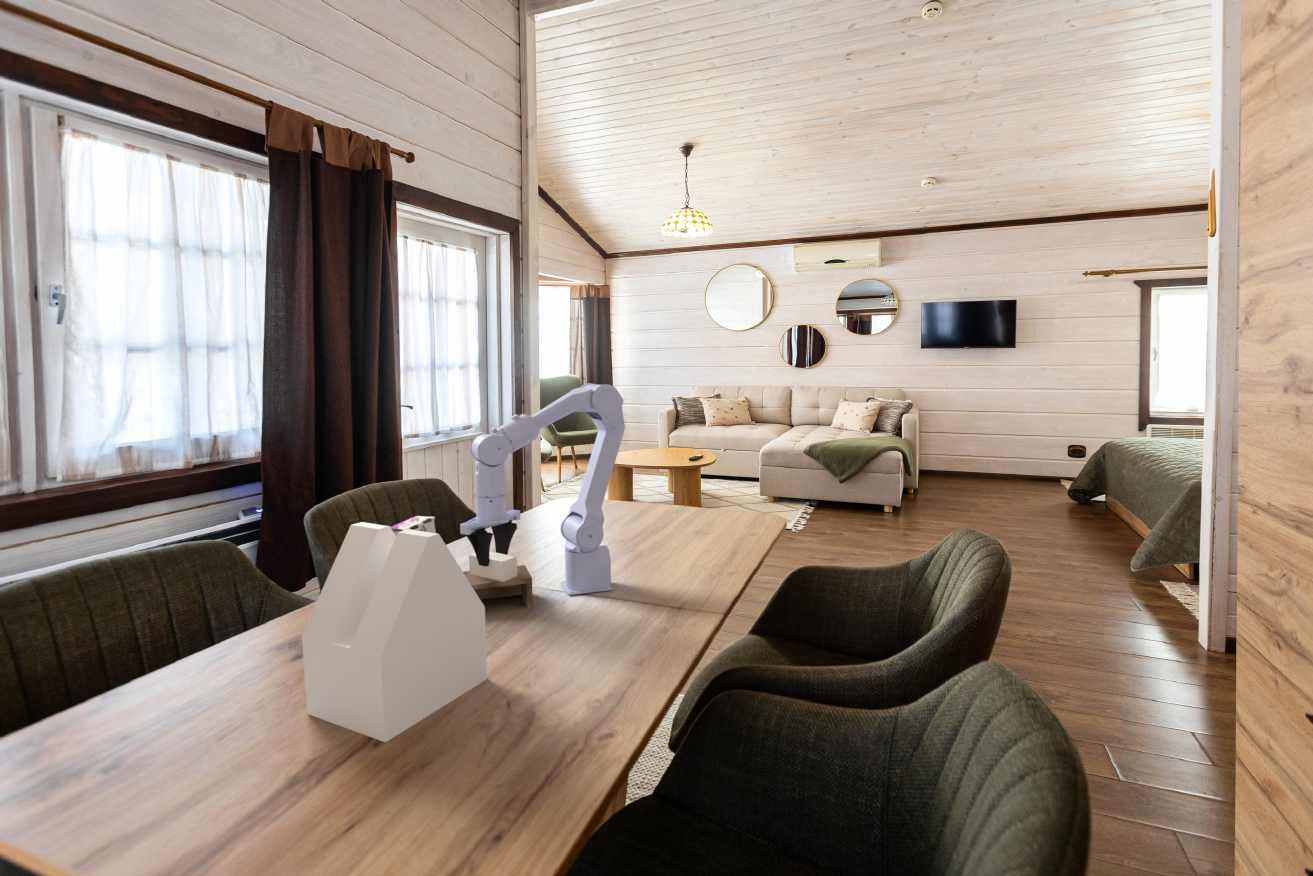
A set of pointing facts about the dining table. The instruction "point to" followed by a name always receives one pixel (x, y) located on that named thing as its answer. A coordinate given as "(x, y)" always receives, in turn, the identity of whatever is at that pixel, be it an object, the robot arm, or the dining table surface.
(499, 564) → the block
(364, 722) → the white tapered slotted holder
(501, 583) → the cubby
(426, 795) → the dining table surface
